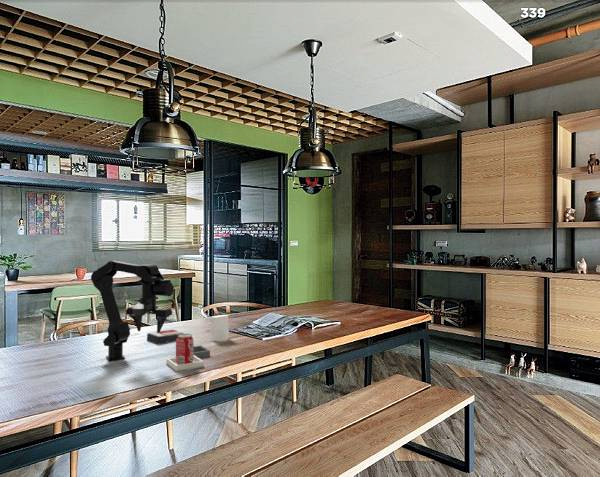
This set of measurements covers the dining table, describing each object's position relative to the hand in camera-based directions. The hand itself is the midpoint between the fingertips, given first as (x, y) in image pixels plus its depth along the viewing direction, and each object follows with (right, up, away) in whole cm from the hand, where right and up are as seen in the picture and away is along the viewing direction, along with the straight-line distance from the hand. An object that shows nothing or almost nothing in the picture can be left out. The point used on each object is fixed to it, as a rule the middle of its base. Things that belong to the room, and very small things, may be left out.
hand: (148, 331), depth 183 cm
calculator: (-5, -13, +40) cm, 42 cm away
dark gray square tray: (+16, -13, +12) cm, 24 cm away
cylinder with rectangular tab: (+22, -13, +42) cm, 49 cm away
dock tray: (+16, -13, -3) cm, 21 cm away
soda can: (+16, -13, -2) cm, 20 cm away
